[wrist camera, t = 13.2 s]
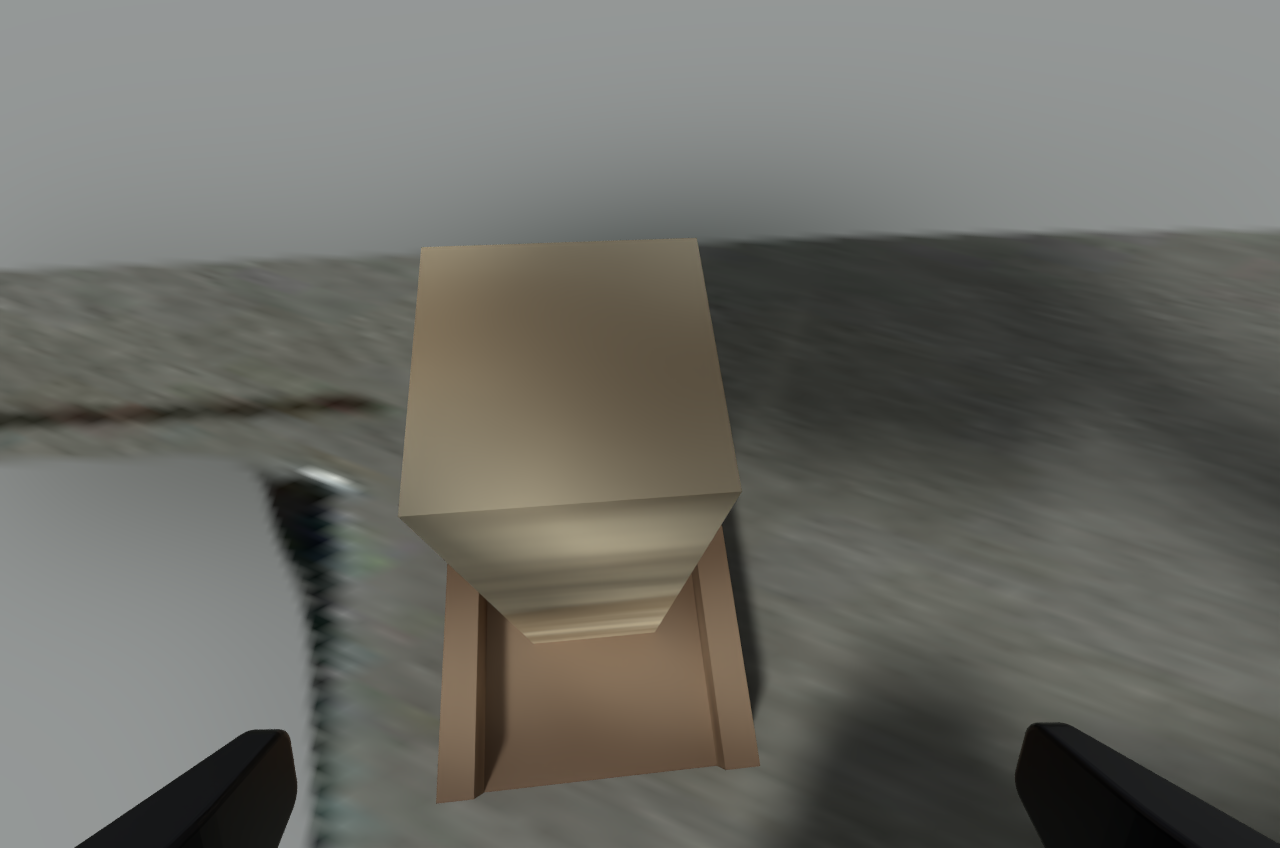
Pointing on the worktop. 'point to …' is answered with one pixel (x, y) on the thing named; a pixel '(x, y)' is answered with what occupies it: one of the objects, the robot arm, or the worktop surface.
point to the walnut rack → (593, 694)
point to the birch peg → (568, 429)
